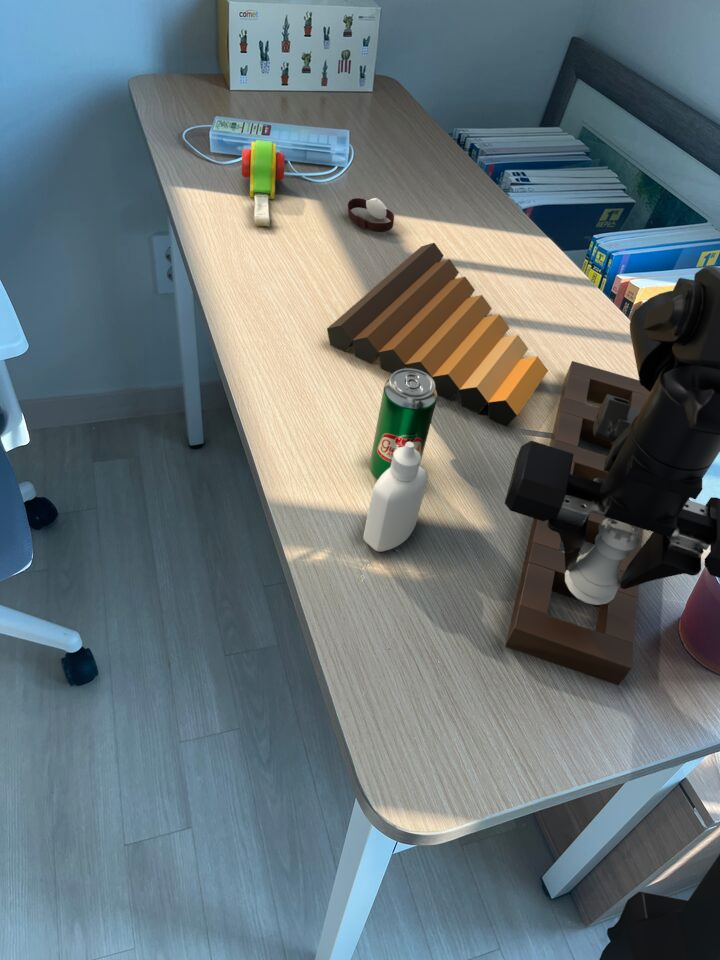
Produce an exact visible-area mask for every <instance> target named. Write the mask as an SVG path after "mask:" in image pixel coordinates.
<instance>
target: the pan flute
mask: <svg viewBox="0 0 720 960" xmlns="http://www.w3.org/2000/svg"><path fill="white" fill-rule="evenodd" d="M443 258H444V254H443V253H442V251H441V249H440V248H439V247H438V245H437V244H436V243H435V242H431V243H428V244H424V245H421V246H420V247H419V248H418V249H416V251H414V252H413V253H412V254H411V255H410V256H408V257H407V258H406V259H405V260H404V261H402V263H401V264H399V265H398V266H397V267H396V268H394V270H392V271H391V272H390V273H389V274H387V276H385V278H383V279H382V280H381V281H380V282H379V283H378V284H376V285H375V286H374V287H373V288H371V290H369V291H368V292H367V293H366V294H365V295H364V296H362V297H361V298H360V299H359V300H358V301H357V302H356V303H354V305H352V306H351V307H350V308H349V309H348V310H347V311H345V312H344V313H343V314H342V315H341V316H339V318H337V319H336V320H334V322H333V323H332V324H330V325H329V326H328V327H327V328H326V331H327V337H328V342H329V346H331V347H333V348H335V349H338V350H340V351H342V352H344V353H346V352H348V351H349V350H350V349H351V348H352V347H353V352H354V357H355V358H356V359H359V360H361V361H364V362H366V363H368V364H370V365H372V364H373V363H374V362H375V361H376V360H377V359H379V365H380V366H379V367H380V369H381V370H383V371H386V372H387V373H390V374H391V375H392V374H393V373H394V372H395V371H397V370H400V369H406V368H410V369H417V370H420V371H423V372H425V373H426V374H428V375H429V376H430V377H431V378H432V379H433V380H434V382H435V389H436V391H437V396H439V397H441V398H443V399H445V400H448V401H450V402H451V401H452V400H453V399H454V398H455V396H456V395H457V394H458V393H459V397H460V398H459V399H460V406H461V407H462V408H465V409H467V410H469V411H472V412H474V413H476V414H479V413H481V411H482V410H484V408H485V407H486V405H487V406H488V409H487V410H488V419H489V420H490V421H493V422H494V423H498V424H499V425H502V426H504V427H506V428H507V427H508V426H509V425H510V424H511V423H512V422H513V421H515V419H516V418H517V416H518V415H519V414H520V413H521V411H522V410H523V408H524V406H525V405H526V404H527V403H528V401H529V399H530V398H531V397H532V395H533V394H534V392H535V391H536V389H537V388H538V386H539V385H540V384H541V382H542V381H543V379H544V378H545V376H546V374H547V373H548V372H549V369H548V368H547V367H546V365H545V363H544V362H543V361H542V360H541V358H540V357H539V356H537V355H536V356H530V357H524V355H525V354H526V353H527V352H528V350H529V347H528V346H527V345H526V343H525V342H524V340H523V339H522V338H521V336H520V335H519V334H514V335H508V336H505V335H506V334H507V332H508V331H509V330H510V326H509V325H508V323H507V322H506V321H505V319H504V318H503V317H502V315H501V314H500V313H499V314H494V315H489V314H490V312H491V311H492V309H493V308H492V306H491V305H490V304H489V302H488V301H487V300H486V299H485V297H484V296H483V294H480V295H476V296H472V295H473V294H474V292H475V291H476V289H475V288H474V286H473V285H472V283H470V281H469V280H468V278H467V277H466V276H462V277H458V275H459V274H460V272H459V270H458V269H457V267H456V266H455V265H454V263H453V261H451V259H450V258H448V259H444V260H442V259H443ZM457 277H458V278H457Z"/></svg>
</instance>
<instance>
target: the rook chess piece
mask: <svg viewBox="0 0 720 960" xmlns="http://www.w3.org/2000/svg"><path fill="white" fill-rule="evenodd" d="M639 532H640V530H639V527H634V526H633V525H629V524H626V523H623V522H620V521H617V520H614V519H610V518H608V519H605V520H603V521H602V522H601V523H600V525H599V534H598V535H597V536H596V538H595V544H593V546H592V547H591V549H590V550H589V551H588V552H585V553H584V554H581V555H579V556H578V558H577V561H576V563H575V566H574V567H573V568H572V569H571V570H570V571H568V570H566V572H565V582H566V584H567V586H568V588H569V590H570V592H571V593H572V594H573V595H574V596H575V597H576V598H577V599H579V600H581V601H580V602H582V601H583V602H582V603H585V604H588V605H591V604H593V605H592V606H594V605H600V604H607V603H608V602H610V601H611V600H613V599H614V597H615V594H616V592H617V590H618V588H619V586H620V577H619V566H620V564H621V561H622V559H624V558H626V557H627V556H628V554H629V552H630V551H629V550H632V549H634V548H635V547H637V546H638V544H639V542H640V539H639ZM579 600H578V601H579Z"/></svg>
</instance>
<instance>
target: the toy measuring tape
mask: <svg viewBox="0 0 720 960" xmlns="http://www.w3.org/2000/svg"><path fill="white" fill-rule="evenodd" d="M250 144H251V148H244V149H242V151H241V176H242V177H243V178H249V197H250V198H254V210H253V212H254V213H253V216H254V217H253V218H254V225H255V226H257V227H270V222H271V221H270V212H269V211H270V210H269V208H270V207H269V206H270V205H269V200H270V199H271V200H274V199H275V198H276V197H275V196H276V195H275V194H276V181H283V180H284V178H285V162H286V160H285V154H284V153H283V152H280V151H277V144H276V143H275V142H273V141H272V140H271V141H270V140H262V139H255V141H251V143H250Z"/></svg>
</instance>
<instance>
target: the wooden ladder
mask: <svg viewBox="0 0 720 960" xmlns="http://www.w3.org/2000/svg"><path fill="white" fill-rule="evenodd" d="M568 367H569V368H568V369H567V372H566V375H565V377H564V380H563V384H562V388H561V393H560V396H559V397H560V398H559V402H558V407H557V411H556V415H555V420H554V425H553V429H552V434H551V438H550V443H549V446H550V447H554V448H557V449H560V450H563V451H567V452H570V453H573V454H574V455H573V460H572V465H571V471H570V474H573V475H576V476H579V477H582V478H586V479H589V480H592V481H594V479H595V478H599V479H602V480H605V479H606V477H607V475H608V473H609V472H607V471H604V465H605V460H606V458H607V456H608V455H605V454H602V453H598V452H595V451H592V450H589V449H585V448H583V447H579V443H580V440H583V441H586V442H588V443H592V444H595V445H598V446H601V447H605V448H608V449H611V448H612V446H613V445H611V441H607V440H604V439H601V438H597V437H595V436H594V433H593V426H594V422H595V419H596V417H597V414H598V412H599V409H600V407H599V408H598V407H596V406H595V407H594V406H592V405H589V404H587V401H591V402H594V403H598V404H601V405H602V403H603V401H604V399H605V397H606V395H607V394H609V395H612V396H615V397H619V398H622V399H626V400H628V401H629V406H630V408H635V409H639V410H641V409H642V407H643V406H644V404H645V402H646V400H647V398H648V396H649V394H650V391H648V390H647V389H646V388H645V387H644V386H642V385H641V384H640V381H639V379H636V378H633V377H629V376H626V375H622V374H619V373H616V372H612V371H609V370H606V369H605V370H604V369H602V368H598V367H595V366H592V365H588V364H584V363H580V362H577V361H574V360H572V361H571V362H570V365H569V366H568ZM605 519H608V518H607V517H604V516H603V515H599V514H596V513H590V514H589V519H588V525H587V532H586V538H585V540H584V542H586V543H590V544H593V545H595V538H596V536H597V535H598V534H599V525H600V523H601V522H602V521H603V520H605ZM547 522H548V520H546V521H541V520H538V519H535V518H532V524H531V528H530V532H529V536H528V543H527V547H526V551H525V555H524V560H523V564H522V569H521V573H520V576H519V577H520V578H519V583H518V587H517V591H516V596H515V601H514V604H513V609H512V613H511V618H510V624H509V626H508V632H507V637H506V641H505V648H508V649H511V650H514V651H517V652H519V653H522V654H526V655H529V656H532V657H534V658H538V659H540V660H543V661H546V662H549V663H552V664H555V665H558V666H560V667H564V668H566V669H569V670H572V671H575V672H578V673H581V674H584V675H586V676H588V677H593V678H595V679H597V680H601V681H604V682H607V683H610V684H613V685H616V686H620V685H621V683H622V682H623V681H624V680H625V679H626V677H627V676H628V674H629V673H630V672H631V670H632V669H633V660H634V647H635V636H636V625H637V611H638V600H639V598H638V597H639V587H640V585H637V586H633V587H630V588H627V589H622V588H620V586H619V588H618V590H617V592H616V594H615V597H614V599H613V600H611V601H610V602H608V603H607V604H600V605H593V604H590V605H592V606H594V607H597V608H598V609H597V617H596V625H595V626H596V627H595V630H594V629H591V628H587V627H585V626H582V625H580V624H579V625H578V624H576V623H572V622H570V621H567V620H564V619H561V618H558V617H555V616H552V615H549V608H550V602H551V596H552V593H555V594H557V595H560V596H564V597H567V598H569V599H572V600H576V601H579V602H582V603H584V602H583V601H581V600H579V599H577V598H576V597H575V596H574V595H573V594H572V593H571V592H570V590H569V588H568V586H567V584H566V582H565V572H566V570H565V553H564V551H561V550H560V548H561V543H562V541H561V538H560V535H559V533H558V532H555V531H552V530H551V529H550V528H549V527H548V525H547ZM634 527H636V526H634ZM639 530H640V532H639V539H640V542H639V544H638V546H637V547H635V548H634V549H632V550H629V551H630V552H629V554H628V556H627V557H626V558H624V559H622V561H621V564H620V566H619V577H620V582H621V578H622V576H623V574H624V572H625V570H626V568H627V566H628V565H629V564H630V562H631V561H632V560H633V558H634V557H635V556H636V554H637V553H638V552H639V550H640V549H641V548H642V546H643V536H644V529H642V528H639Z"/></svg>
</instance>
